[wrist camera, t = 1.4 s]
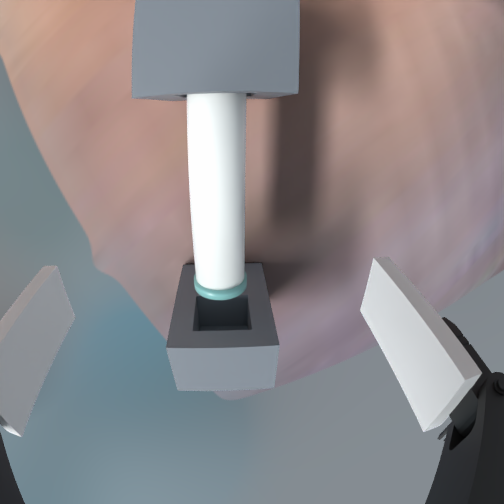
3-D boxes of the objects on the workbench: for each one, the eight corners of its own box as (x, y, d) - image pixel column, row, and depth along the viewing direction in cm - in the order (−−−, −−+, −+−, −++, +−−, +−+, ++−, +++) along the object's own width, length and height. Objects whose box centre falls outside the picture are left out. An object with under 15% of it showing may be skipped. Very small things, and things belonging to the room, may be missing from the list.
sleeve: (174, 26, 21) (138, -23, 10) (268, 25, 22) (299, -28, 10) (172, 101, 25) (131, 98, 13) (266, 99, 25) (298, 93, 14)
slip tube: (192, -15, 15) (185, -38, 11) (249, -16, 15) (254, -39, 11) (196, 271, 26) (192, 300, 23) (245, 269, 27) (248, 299, 23)
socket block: (183, 264, 33) (166, 347, 22) (261, 262, 34) (279, 345, 22) (188, 305, 36) (177, 390, 25) (259, 304, 37) (274, 388, 25)
